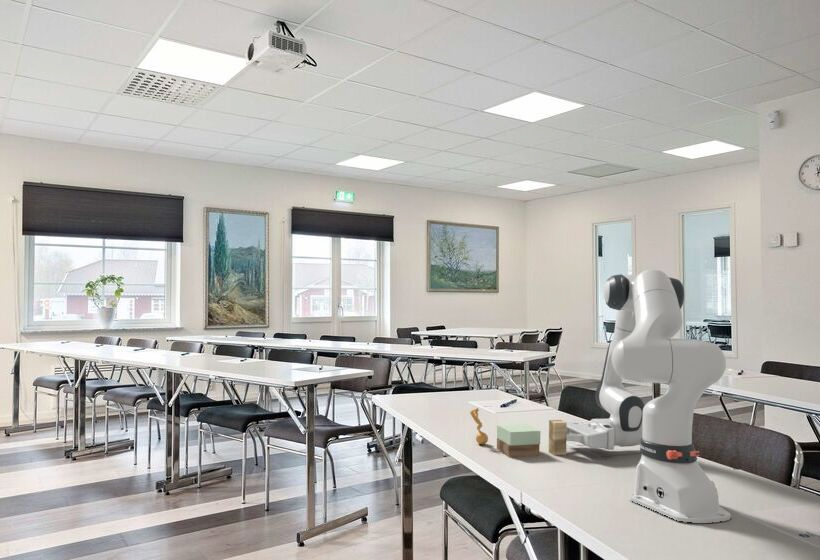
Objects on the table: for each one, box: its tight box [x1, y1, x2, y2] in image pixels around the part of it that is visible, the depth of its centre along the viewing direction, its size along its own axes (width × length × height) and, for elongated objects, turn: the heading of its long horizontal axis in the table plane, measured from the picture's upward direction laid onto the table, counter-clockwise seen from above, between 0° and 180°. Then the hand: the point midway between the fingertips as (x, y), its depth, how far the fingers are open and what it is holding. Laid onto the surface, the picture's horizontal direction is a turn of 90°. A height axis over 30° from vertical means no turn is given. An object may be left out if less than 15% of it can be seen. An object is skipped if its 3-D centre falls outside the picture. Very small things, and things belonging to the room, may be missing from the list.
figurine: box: [469, 407, 489, 446], centre depth 195 cm, size 8×6×12 cm
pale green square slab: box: [496, 423, 541, 445], centre depth 186 cm, size 10×10×4 cm
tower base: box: [496, 437, 541, 458], centre depth 186 cm, size 10×10×4 cm
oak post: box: [548, 419, 568, 456], centre depth 186 cm, size 4×4×10 cm
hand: (558, 434), depth 186 cm, fingers open, 8 cm apart
